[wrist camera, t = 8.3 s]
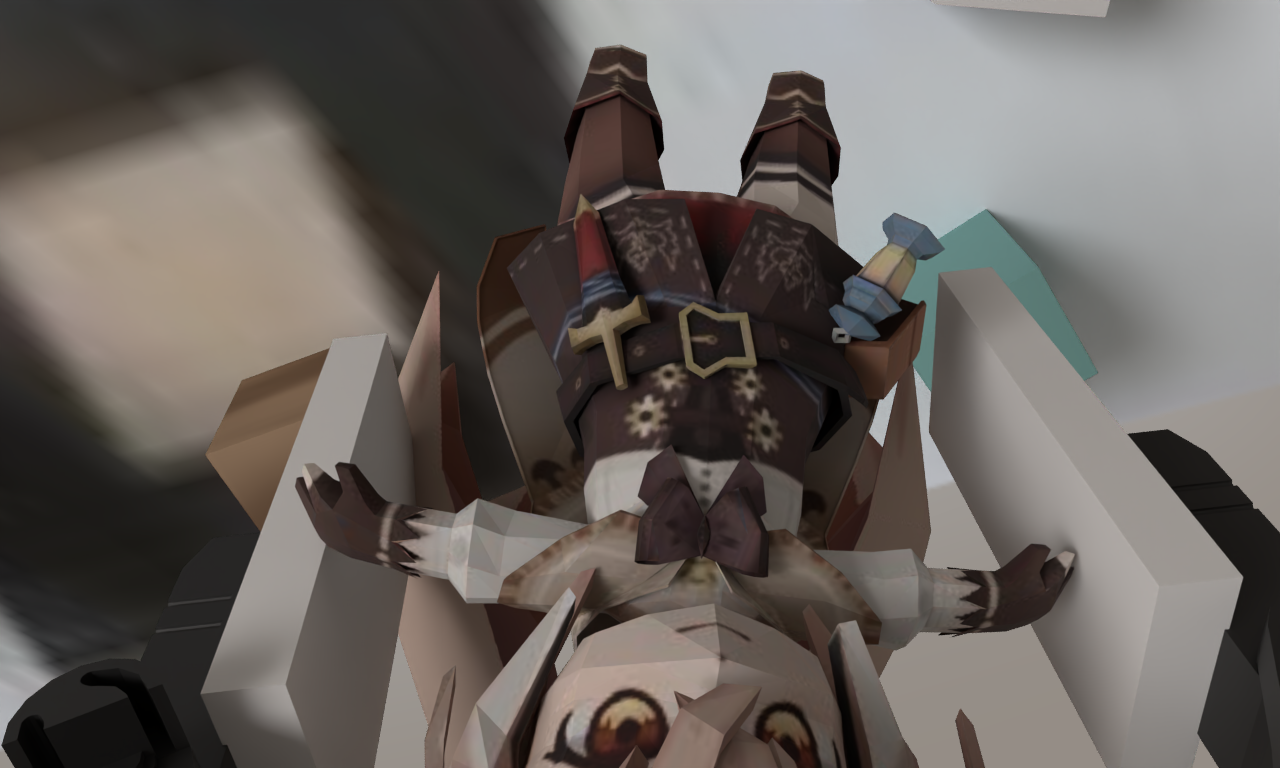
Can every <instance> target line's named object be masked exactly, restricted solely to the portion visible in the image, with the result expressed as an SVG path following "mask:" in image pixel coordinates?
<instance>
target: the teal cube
mask: <svg viewBox="0 0 1280 768" xmlns="http://www.w3.org/2000/svg"><path fill="white" fill-rule="evenodd" d="M938 241H939V242H940V243H941V245H942V246H943V247H944V248H945V250H943V251H942V252H940V253H939V254H937V255H936V256H934V257H933V258H931V259H928V260H926V261H925V260H918V259H917V262H916V269H915V273H914V275H913V277H912V279H911V281H910V283H909V285H908V287H907V289H906V291H905V293H904V294H903V296H902V298H901V299H904V300H907V301H910V302H913V303H916V304H919V303H920V301H921V300H924V301H925V303H926V305H927V306H926V312H925V319H924V326H923V333H922V339H921V346H920V351H919V353H918V355H917V357H916V358H915V360H914V361H913V366H914V368H915V369H916V371H917V372H918V374H919V375H920V377H921V378H922V380H923V381H924V383H925V384H926V385H927V387H928V388H929V390H930V391H931V389H932V373H933V356H934V340H935V324H936V307H937V291H938V275H939V273H941V272H950V271H959V270H968V269H977V268H986V267H992V268H993V269H994V270H995V272H996V273H997V274H998V275H999V277H1000V278H1001V279H1002V280H1003V282H1004V283H1005V284H1006V285H1007V286H1008V288H1009V289H1010V290H1011V291H1012V293H1013V294H1014V295H1015V296H1016V298H1017V299H1018V300H1019V301H1020V303H1021V304H1022V305H1023V306H1024V307H1025V309H1026V310H1027V311H1028V312H1029V314H1030V315H1031V316H1032V317H1033V319H1034V320H1035V321H1036V322H1037V323H1038V325H1039V326H1040V327H1041V328H1042V330H1043V331H1044V332H1045V333H1046V335H1047V336H1048V337H1049V338H1050V340H1051V341H1052V342H1053V343H1054V344H1055V346H1056V347H1057V348H1058V349H1059V351H1060V352H1061V353H1062V354H1063V356H1064V357H1065V358H1066V359H1067V360H1068V362H1069V363H1070V364H1071V365H1072V367H1073V368H1074V369H1075V370H1076V372H1077V373H1078V374H1079V375H1080V376H1081V378H1082V379H1083V380H1084V381H1085V380H1086V379H1088V378H1090V377H1092V376H1093V375H1095V374H1097V373H1098V372H1097V370H1096V368H1095V366H1094V365H1093V363H1092V361H1091V359H1090V358H1089V356H1088V354H1087V352H1086V350H1085V349H1084V347H1083V345H1082V343H1081V342H1080V340H1079V338H1078V336H1077V335H1076V333H1075V331H1074V329H1073V328H1072V326H1071V324H1070V322H1069V320H1068V319H1067V317H1066V315H1065V313H1064V312H1063V310H1062V308H1061V306H1060V305H1059V303H1058V301H1057V299H1056V298H1055V296H1054V294H1053V292H1052V290H1051V289H1050V287H1049V285H1048V283H1047V282H1046V280H1045V278H1044V276H1043V275H1042V273H1041V271H1040V269H1039V268H1038V266H1037V265H1036V264H1035V263H1034V262H1033V261H1032V260H1031V258H1030V257H1029V256H1028V255H1027V254H1026V253H1025V252H1024V251H1023V250H1022V248H1021V247H1020V246H1019V245H1018V244H1017V243H1016V242H1015V241H1014V240H1013V238H1012V237H1011V236H1010V235H1009V234H1008V233H1007V232H1006V231H1005V230H1004V228H1003V227H1002V226H1001V225H1000V224H999V223H998V222H997V221H996V220H995V218H994V217H993V216H992V215H991V214H990V213H989V212H988V211H987V210H986V209H985V210H984V211H982V212H981V213H979V214H977V215H976V216H974V217H973V218H971V219H969V220H968V221H966V222H965V223H963V224H962V225H960V226H958V227H957V228H955V229H954V230H952V231H951V232H949V233H947V234H946V235H944V236H943V237H941V238H940V239H938Z"/></svg>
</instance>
